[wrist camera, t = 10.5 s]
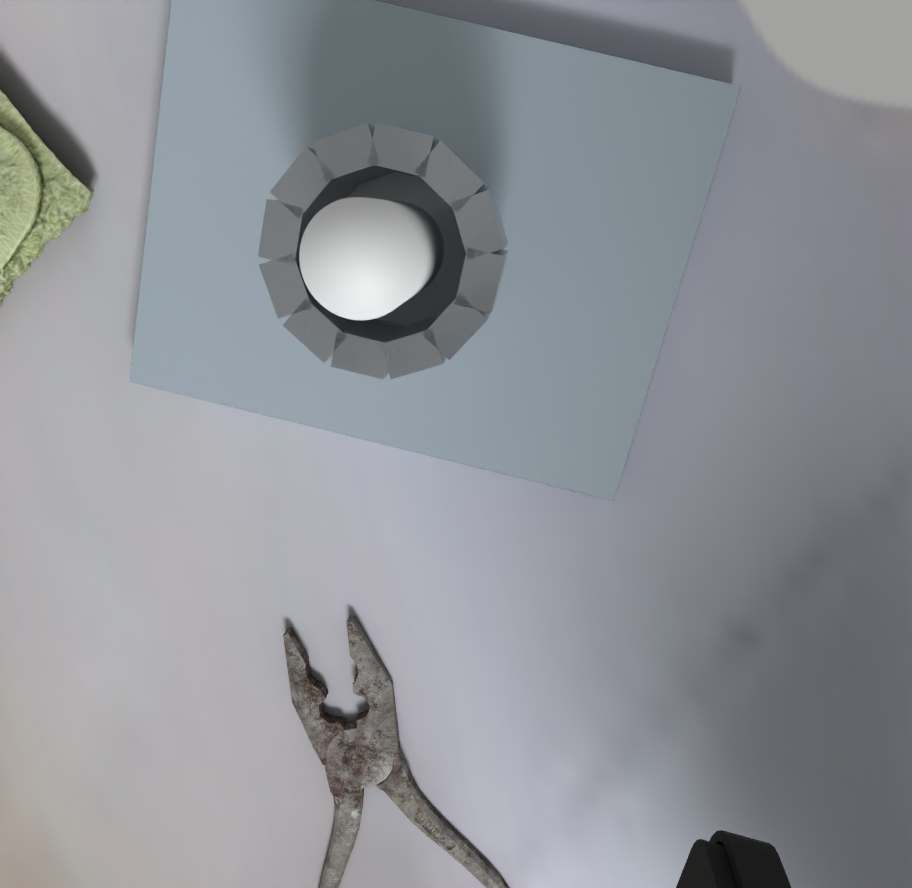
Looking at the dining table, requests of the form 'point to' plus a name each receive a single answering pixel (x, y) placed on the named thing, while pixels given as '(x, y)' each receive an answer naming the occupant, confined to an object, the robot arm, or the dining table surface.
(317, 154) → the ring
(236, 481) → the dining table surface
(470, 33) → the piston block
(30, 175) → the washcloth
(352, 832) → the pliers
